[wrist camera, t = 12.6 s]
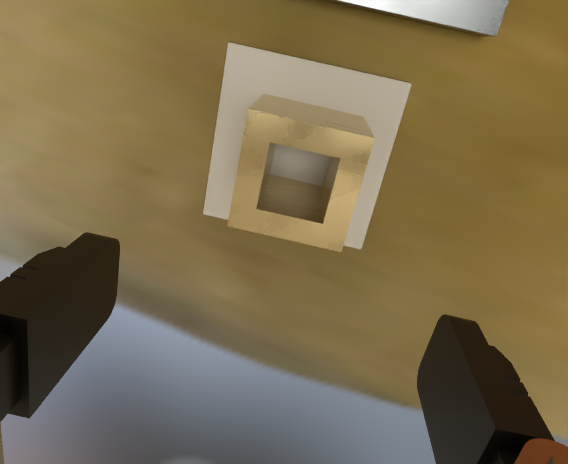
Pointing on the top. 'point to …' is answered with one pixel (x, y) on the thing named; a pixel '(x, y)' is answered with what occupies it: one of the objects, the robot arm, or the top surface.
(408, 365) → the top surface
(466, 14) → the gray base plate
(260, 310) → the top surface
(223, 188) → the pad
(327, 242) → the collar
